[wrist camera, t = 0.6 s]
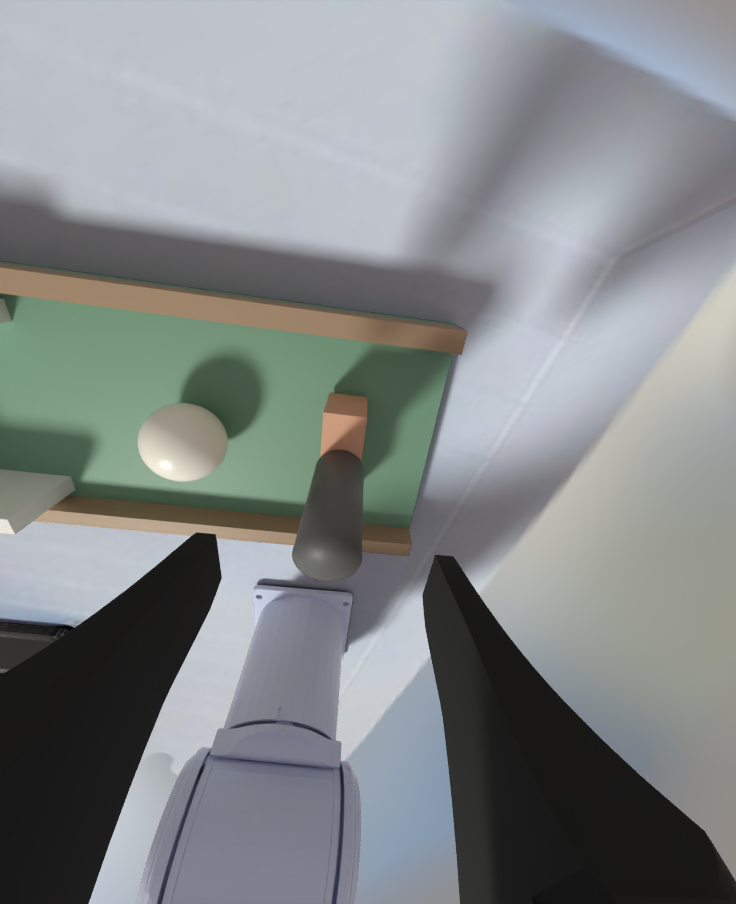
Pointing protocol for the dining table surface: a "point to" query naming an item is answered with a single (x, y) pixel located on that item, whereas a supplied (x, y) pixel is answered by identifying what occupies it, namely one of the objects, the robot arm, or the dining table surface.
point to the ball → (182, 442)
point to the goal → (27, 486)
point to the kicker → (335, 495)
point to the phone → (25, 641)
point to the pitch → (211, 401)
